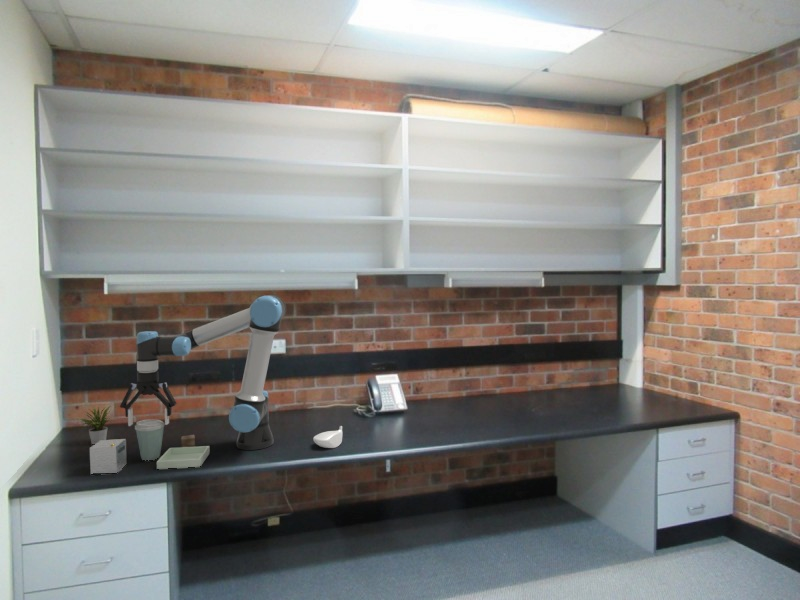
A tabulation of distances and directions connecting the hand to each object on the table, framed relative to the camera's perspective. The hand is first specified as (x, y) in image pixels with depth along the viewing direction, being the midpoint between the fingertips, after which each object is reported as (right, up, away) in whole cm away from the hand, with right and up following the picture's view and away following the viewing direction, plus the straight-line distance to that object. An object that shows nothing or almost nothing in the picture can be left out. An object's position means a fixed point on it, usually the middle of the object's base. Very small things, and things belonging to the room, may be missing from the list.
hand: (148, 424), depth 203 cm
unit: (-10, -14, -11) cm, 20 cm away
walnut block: (+11, -13, +12) cm, 21 cm away
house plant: (-32, -13, +22) cm, 41 cm away
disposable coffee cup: (+1, -14, +1) cm, 14 cm away
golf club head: (+68, -13, +14) cm, 71 cm away
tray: (+15, -14, -2) cm, 20 cm away
